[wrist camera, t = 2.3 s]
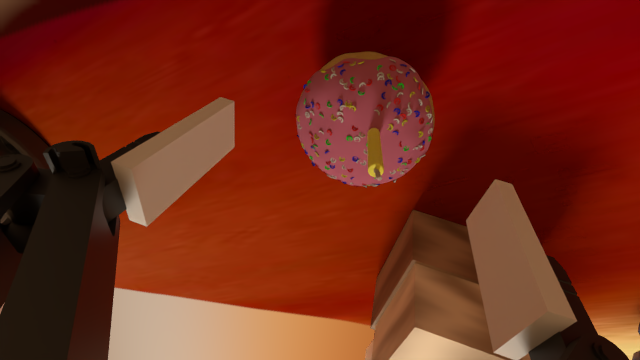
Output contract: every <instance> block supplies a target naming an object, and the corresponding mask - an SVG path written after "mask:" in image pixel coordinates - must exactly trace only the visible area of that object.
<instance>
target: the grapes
mask: <svg viewBox="0 0 640 360" xmlns="http://www.w3.org/2000/svg"><path fill="white" fill-rule="evenodd" d="M638 332H639V334H640V323H639V327H638ZM632 360H640V351H638V352H636V353H634V355H633V358H632Z"/></svg>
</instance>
